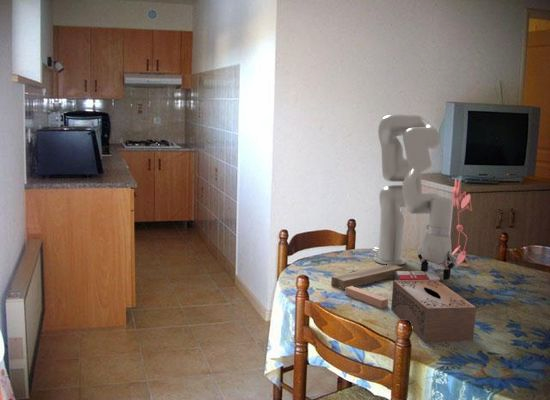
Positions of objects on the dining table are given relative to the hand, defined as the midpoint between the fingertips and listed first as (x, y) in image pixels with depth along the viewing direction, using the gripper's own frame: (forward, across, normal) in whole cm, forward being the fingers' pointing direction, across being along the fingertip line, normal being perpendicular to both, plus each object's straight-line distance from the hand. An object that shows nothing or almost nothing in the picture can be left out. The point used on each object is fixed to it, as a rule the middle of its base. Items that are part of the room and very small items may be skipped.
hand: (435, 276), depth 222 cm
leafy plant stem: (+2, -14, +30) cm, 33 cm away
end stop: (+2, 0, -38) cm, 38 cm away
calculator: (+3, -2, -8) cm, 8 cm away
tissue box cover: (+3, +26, -38) cm, 46 cm away
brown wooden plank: (+2, -15, -19) cm, 25 cm away
